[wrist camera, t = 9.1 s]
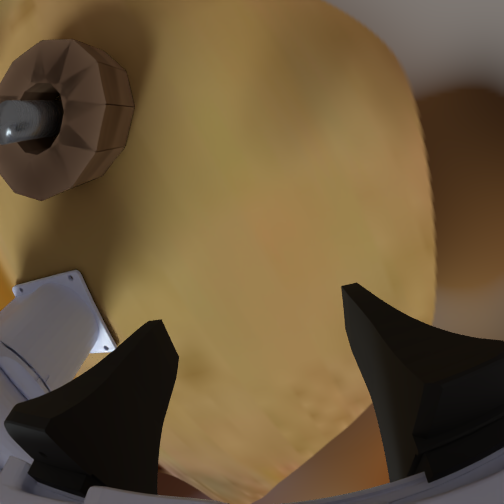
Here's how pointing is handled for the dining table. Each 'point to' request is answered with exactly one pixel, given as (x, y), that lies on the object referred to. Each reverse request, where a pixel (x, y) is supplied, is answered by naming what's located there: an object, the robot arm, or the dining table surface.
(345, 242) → the dining table surface
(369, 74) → the dining table surface
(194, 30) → the dining table surface
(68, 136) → the bead
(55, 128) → the dark grey capsule
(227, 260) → the dining table surface
